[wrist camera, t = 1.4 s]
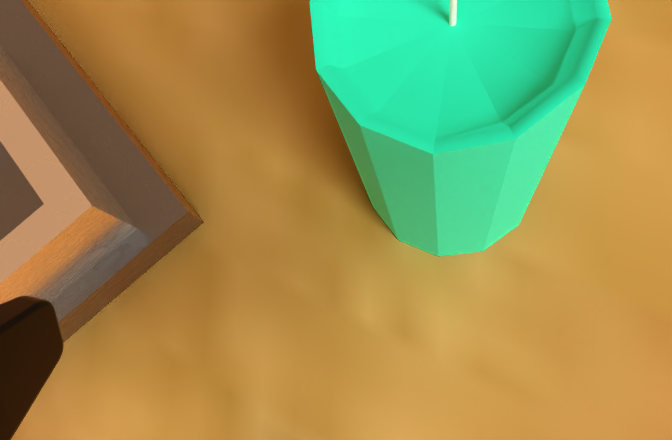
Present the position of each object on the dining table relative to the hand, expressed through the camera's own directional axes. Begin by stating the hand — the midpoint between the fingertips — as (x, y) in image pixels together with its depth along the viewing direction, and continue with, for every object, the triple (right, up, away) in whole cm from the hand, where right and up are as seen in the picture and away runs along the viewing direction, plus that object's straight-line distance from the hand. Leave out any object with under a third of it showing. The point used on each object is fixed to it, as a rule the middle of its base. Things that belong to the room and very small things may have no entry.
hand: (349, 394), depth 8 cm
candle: (+4, +4, +14) cm, 15 cm away
